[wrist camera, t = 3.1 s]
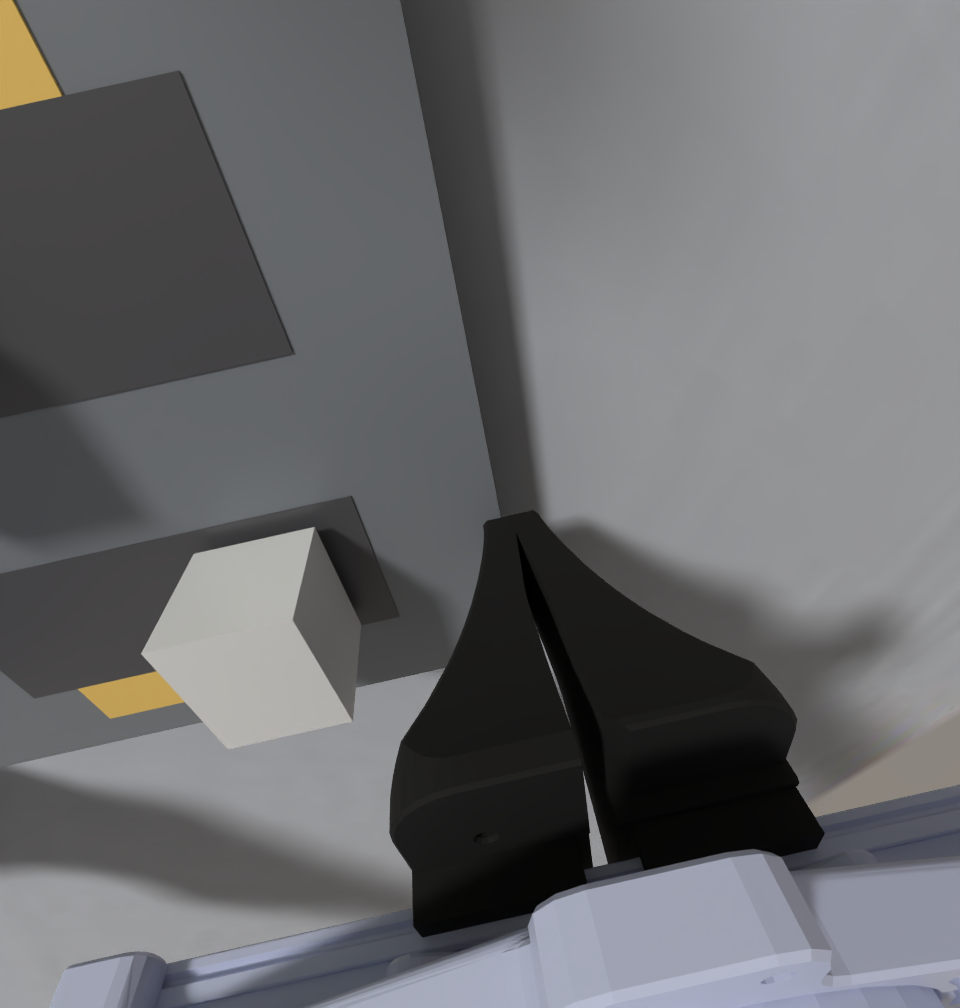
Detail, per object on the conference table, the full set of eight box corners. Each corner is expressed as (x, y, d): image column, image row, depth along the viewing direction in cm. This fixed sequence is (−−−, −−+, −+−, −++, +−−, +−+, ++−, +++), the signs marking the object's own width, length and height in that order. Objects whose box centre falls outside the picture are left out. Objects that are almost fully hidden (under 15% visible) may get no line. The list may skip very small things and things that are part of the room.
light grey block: (258, 647, 14) (228, 749, 12) (193, 553, 12) (140, 653, 10) (361, 624, 14) (352, 721, 12) (314, 527, 12) (292, 620, 10)
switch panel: (27, 714, 18) (-12, 771, 16) (-805, 55, 8) (-1149, 26, 6) (515, 605, 18) (526, 650, 16) (355, -198, 8) (342, -300, 6)
